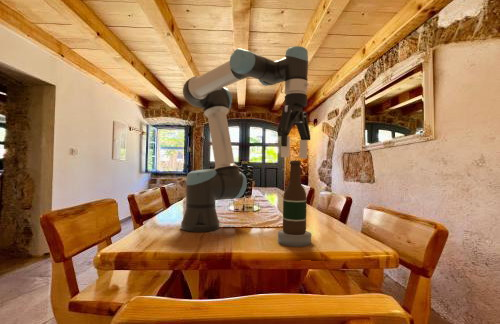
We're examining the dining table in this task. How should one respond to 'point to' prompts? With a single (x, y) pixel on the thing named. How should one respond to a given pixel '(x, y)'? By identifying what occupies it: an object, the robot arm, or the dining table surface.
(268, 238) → the dining table surface
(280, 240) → the slate pedestal
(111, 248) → the dining table surface
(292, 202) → the beer bottle
